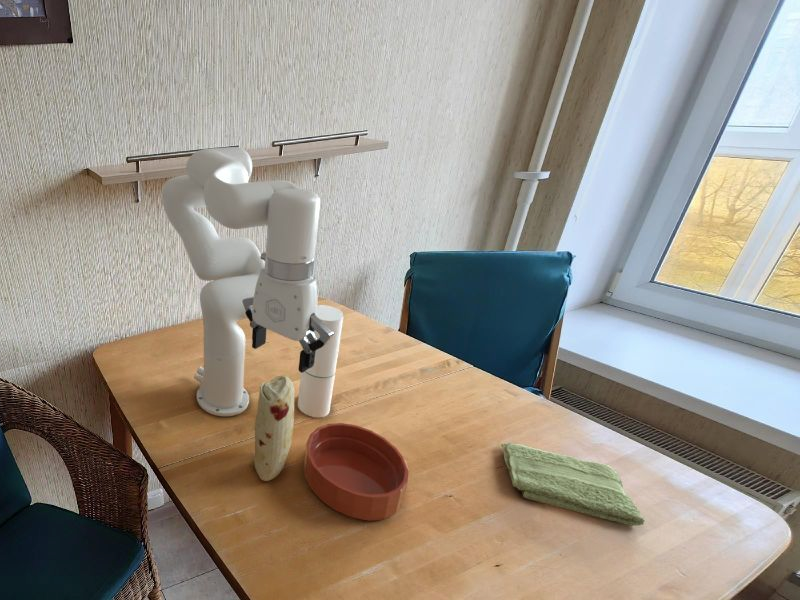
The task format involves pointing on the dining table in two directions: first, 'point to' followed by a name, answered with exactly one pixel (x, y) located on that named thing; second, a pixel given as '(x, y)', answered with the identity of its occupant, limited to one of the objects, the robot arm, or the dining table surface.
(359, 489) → the bowl
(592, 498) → the washcloth
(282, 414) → the food model
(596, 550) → the dining table surface
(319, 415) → the cylindrical container
